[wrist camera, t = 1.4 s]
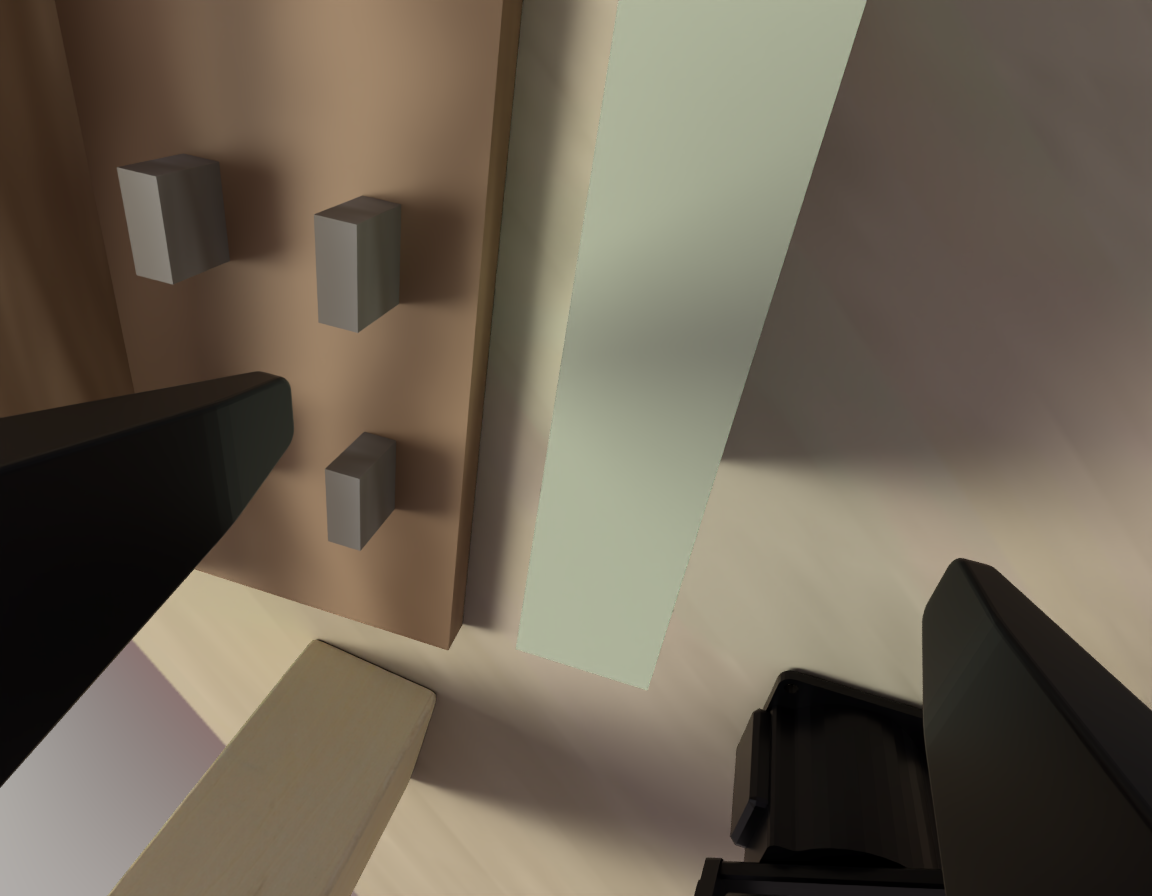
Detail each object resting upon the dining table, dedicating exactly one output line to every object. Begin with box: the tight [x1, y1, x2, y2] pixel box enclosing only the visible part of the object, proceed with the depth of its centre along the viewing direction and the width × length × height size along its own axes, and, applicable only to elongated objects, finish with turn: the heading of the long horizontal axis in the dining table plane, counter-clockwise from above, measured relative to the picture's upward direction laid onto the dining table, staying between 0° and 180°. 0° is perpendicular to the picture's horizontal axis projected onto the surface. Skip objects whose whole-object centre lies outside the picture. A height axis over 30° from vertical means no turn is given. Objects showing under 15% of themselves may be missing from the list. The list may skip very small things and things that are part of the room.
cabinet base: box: [0, 0, 523, 650], centre depth 22 cm, size 16×24×6 cm, turn 171°
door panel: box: [516, 0, 867, 690], centre depth 16 cm, size 3×14×10 cm, turn 171°
